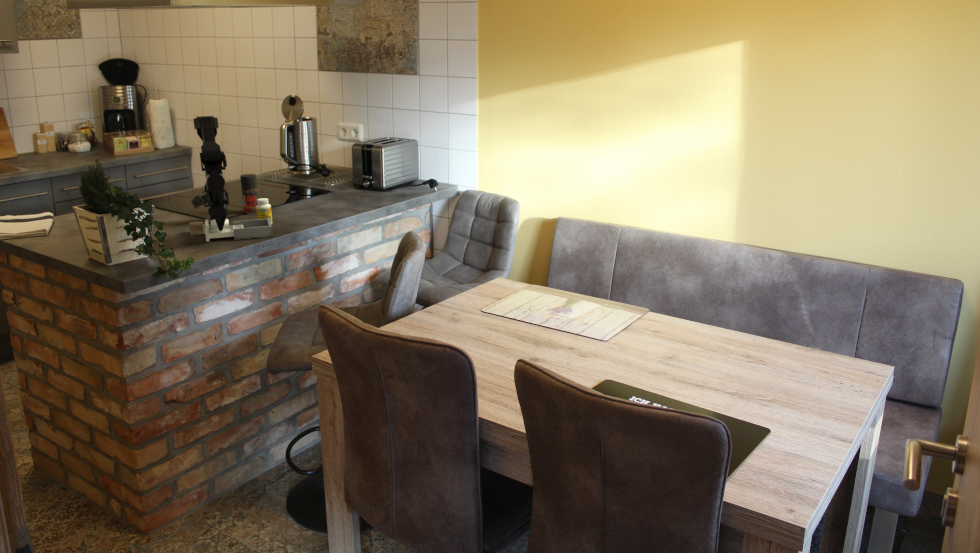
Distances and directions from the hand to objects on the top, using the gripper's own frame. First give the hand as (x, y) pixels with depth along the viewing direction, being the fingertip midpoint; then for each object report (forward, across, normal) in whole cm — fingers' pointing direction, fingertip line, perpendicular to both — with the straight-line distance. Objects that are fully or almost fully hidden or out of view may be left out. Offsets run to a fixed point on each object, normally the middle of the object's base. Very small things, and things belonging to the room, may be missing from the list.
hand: (220, 228), depth 257 cm
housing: (+3, 0, +11) cm, 11 cm away
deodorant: (+4, -35, +12) cm, 37 cm away
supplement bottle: (+3, -14, +16) cm, 21 cm away
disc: (-1, 0, 0) cm, 1 cm away
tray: (+3, 0, +1) cm, 3 cm away
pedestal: (+3, -9, -8) cm, 13 cm away
